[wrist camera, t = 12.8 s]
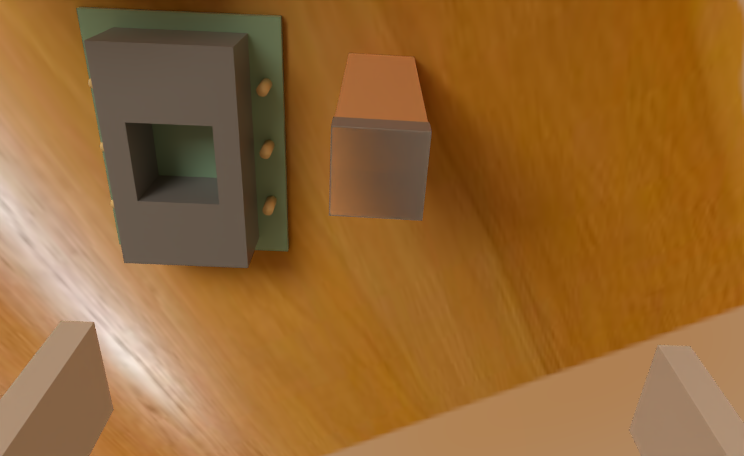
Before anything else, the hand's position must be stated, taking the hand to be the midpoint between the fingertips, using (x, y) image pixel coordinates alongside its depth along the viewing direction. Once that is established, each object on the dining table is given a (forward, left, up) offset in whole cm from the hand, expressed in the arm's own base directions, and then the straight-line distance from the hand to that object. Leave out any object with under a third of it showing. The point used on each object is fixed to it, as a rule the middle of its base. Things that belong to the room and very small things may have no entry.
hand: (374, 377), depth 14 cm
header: (+4, -12, -26) cm, 29 cm away
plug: (0, 0, -26) cm, 27 cm away
